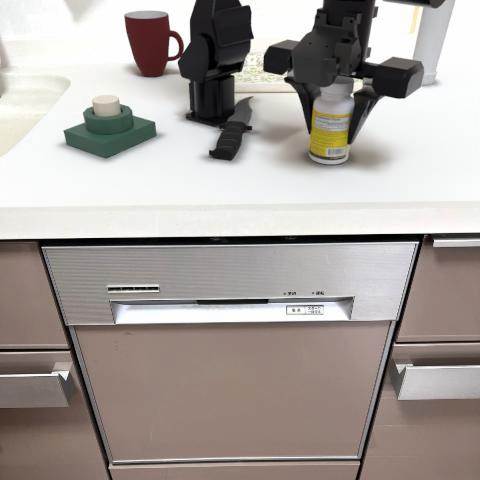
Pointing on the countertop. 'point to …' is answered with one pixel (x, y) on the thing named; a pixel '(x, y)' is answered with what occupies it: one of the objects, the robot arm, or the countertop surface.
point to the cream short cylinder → (106, 105)
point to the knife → (233, 131)
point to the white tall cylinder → (432, 38)
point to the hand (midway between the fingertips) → (330, 138)
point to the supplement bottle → (332, 122)
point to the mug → (151, 40)
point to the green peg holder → (109, 132)
